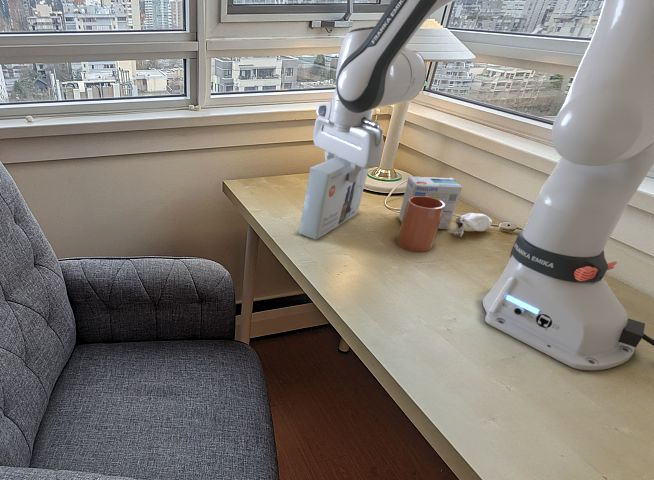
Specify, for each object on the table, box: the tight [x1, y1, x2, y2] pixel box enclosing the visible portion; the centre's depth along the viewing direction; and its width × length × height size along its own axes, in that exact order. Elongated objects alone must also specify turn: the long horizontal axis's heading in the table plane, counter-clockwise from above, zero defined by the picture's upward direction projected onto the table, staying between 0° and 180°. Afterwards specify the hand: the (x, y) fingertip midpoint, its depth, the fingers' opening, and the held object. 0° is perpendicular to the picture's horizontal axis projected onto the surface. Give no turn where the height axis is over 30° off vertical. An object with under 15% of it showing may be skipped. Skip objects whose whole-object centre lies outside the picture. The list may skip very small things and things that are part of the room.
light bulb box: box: [398, 175, 463, 230], centre depth 114 cm, size 11×7×11 cm, turn 84°
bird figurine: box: [450, 212, 495, 238], centre depth 111 cm, size 5×7×10 cm
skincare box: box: [298, 155, 369, 240], centre depth 112 cm, size 21×6×16 cm, turn 138°
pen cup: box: [396, 196, 445, 252], centre depth 105 cm, size 7×7×10 cm
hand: (340, 176), depth 110 cm, fingers closed on skincare box, 6 cm apart
